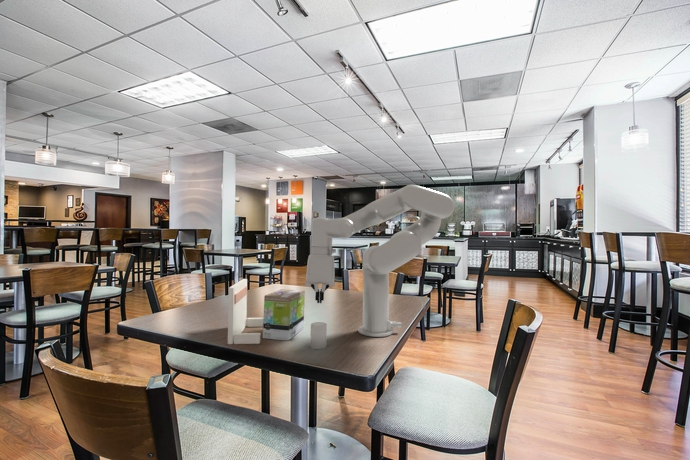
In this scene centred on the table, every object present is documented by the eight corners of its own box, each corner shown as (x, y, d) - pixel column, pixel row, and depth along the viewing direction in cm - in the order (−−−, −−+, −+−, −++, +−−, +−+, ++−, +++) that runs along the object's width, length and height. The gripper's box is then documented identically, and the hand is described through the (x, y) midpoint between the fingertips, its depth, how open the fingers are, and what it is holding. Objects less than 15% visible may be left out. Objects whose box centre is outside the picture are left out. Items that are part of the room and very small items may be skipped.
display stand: (268, 325, 126) (269, 278, 126) (259, 343, 105) (260, 287, 105) (242, 325, 125) (243, 278, 125) (227, 344, 104) (228, 287, 104)
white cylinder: (326, 343, 106) (326, 322, 106) (326, 348, 101) (326, 326, 101) (310, 343, 105) (310, 322, 106) (310, 349, 100) (310, 326, 101)
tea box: (290, 341, 108) (290, 296, 108) (261, 339, 110) (262, 295, 110) (304, 328, 122) (305, 289, 123) (279, 326, 124) (280, 288, 125)
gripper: (341, 252, 122) (339, 300, 122) (301, 250, 121) (299, 300, 120) (342, 253, 115) (340, 305, 114) (300, 251, 113) (297, 304, 113)
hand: (319, 302), depth 117 cm, fingers closed
